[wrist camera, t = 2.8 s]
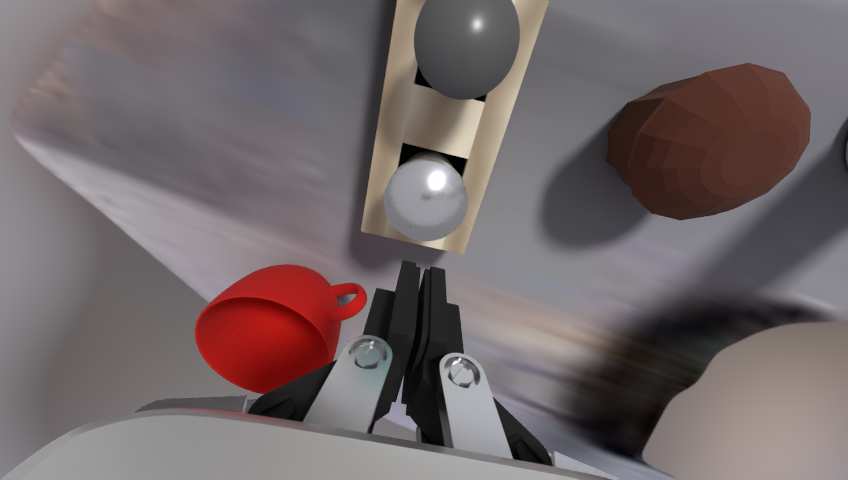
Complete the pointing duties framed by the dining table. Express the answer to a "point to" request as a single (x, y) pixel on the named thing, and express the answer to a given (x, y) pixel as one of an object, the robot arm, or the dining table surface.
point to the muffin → (710, 140)
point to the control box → (441, 122)
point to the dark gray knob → (466, 45)
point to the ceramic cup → (274, 326)
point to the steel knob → (426, 197)
